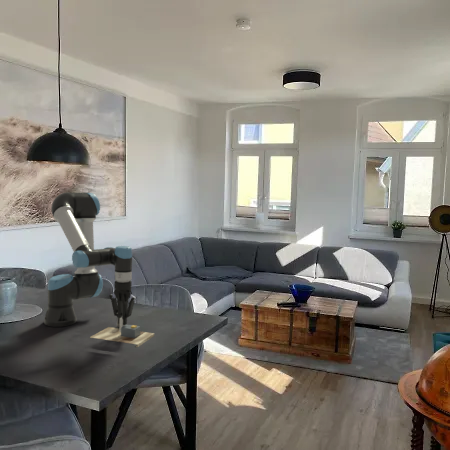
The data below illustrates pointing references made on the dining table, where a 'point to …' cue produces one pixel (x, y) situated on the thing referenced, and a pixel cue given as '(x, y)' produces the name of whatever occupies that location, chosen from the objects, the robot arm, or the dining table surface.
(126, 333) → the block
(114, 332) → the board
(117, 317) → the metal cylinder
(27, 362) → the dining table surface
